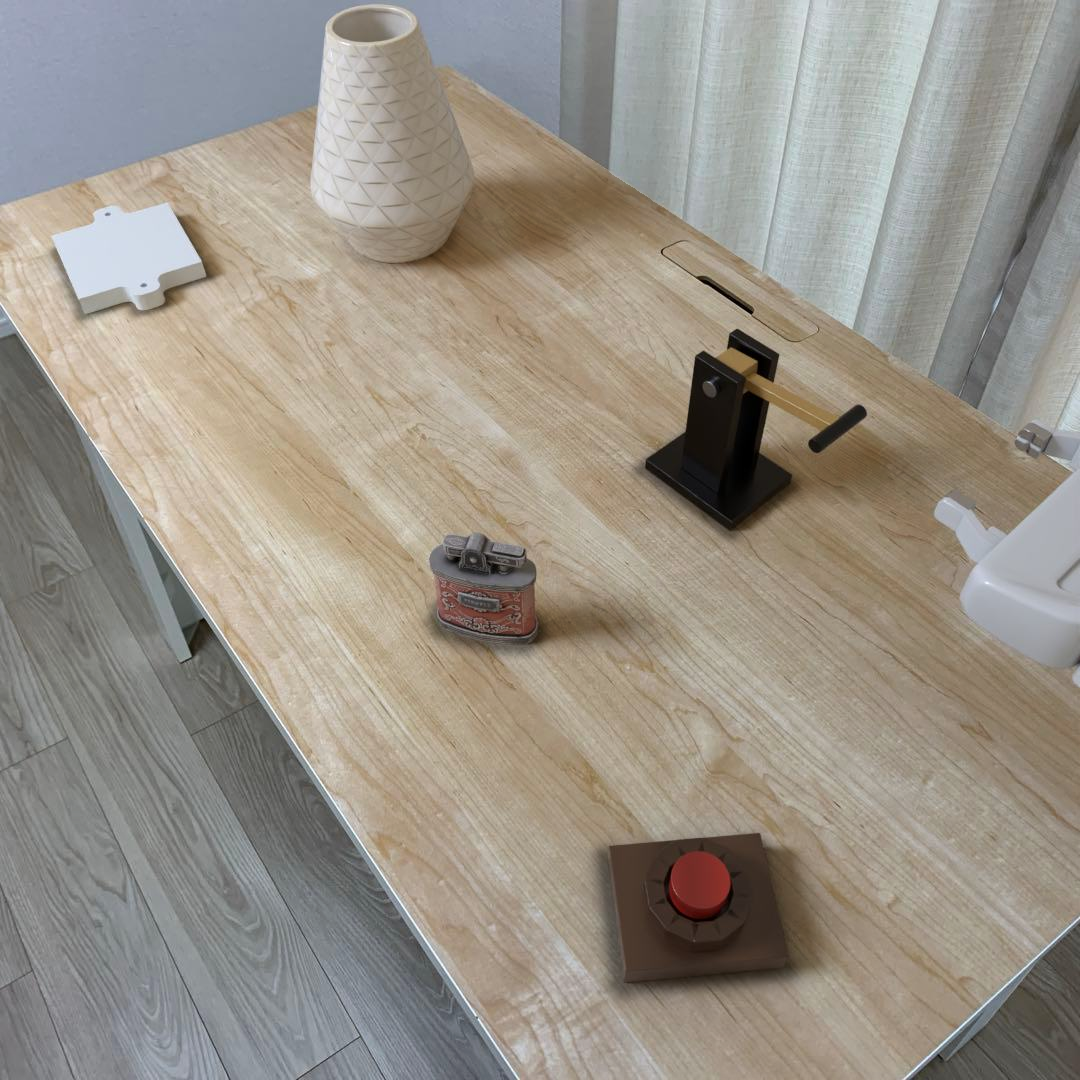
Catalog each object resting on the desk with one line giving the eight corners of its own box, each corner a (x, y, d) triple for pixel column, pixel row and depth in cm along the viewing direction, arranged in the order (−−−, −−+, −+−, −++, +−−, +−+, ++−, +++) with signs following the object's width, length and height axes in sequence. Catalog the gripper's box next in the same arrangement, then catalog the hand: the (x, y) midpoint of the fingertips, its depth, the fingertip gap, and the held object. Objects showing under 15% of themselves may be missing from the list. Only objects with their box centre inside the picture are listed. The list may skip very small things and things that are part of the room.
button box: (755, 846, 70) (764, 820, 67) (782, 968, 65) (793, 946, 62) (607, 859, 70) (609, 833, 67) (623, 983, 65) (626, 961, 62)
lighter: (432, 631, 82) (419, 550, 74) (445, 597, 84) (433, 515, 76) (532, 650, 81) (529, 570, 73) (542, 615, 83) (540, 534, 75)
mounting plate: (52, 239, 117) (45, 224, 116) (166, 206, 121) (161, 191, 119) (90, 327, 107) (84, 312, 105) (213, 289, 111) (209, 274, 109)
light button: (720, 860, 66) (724, 848, 65) (732, 916, 64) (736, 905, 62) (664, 864, 66) (666, 853, 65) (673, 921, 64) (676, 911, 62)
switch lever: (864, 427, 79) (869, 402, 78) (819, 462, 77) (823, 437, 75) (742, 361, 86) (744, 337, 84) (697, 392, 84) (698, 368, 82)
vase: (444, 294, 110) (422, 79, 92) (294, 265, 113) (245, 53, 96) (499, 204, 120) (489, -4, 102) (360, 181, 124) (327, -25, 106)
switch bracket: (790, 484, 92) (820, 362, 81) (729, 531, 88) (752, 410, 78) (705, 425, 96) (723, 303, 86) (644, 468, 93) (655, 347, 82)
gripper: (1293, 464, 64) (1084, 357, 71) (1125, 654, 55) (905, 511, 62) (1241, 531, 69) (1050, 425, 75) (1080, 716, 60) (880, 577, 67)
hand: (983, 465), depth 69 cm, fingers open, 8 cm apart
